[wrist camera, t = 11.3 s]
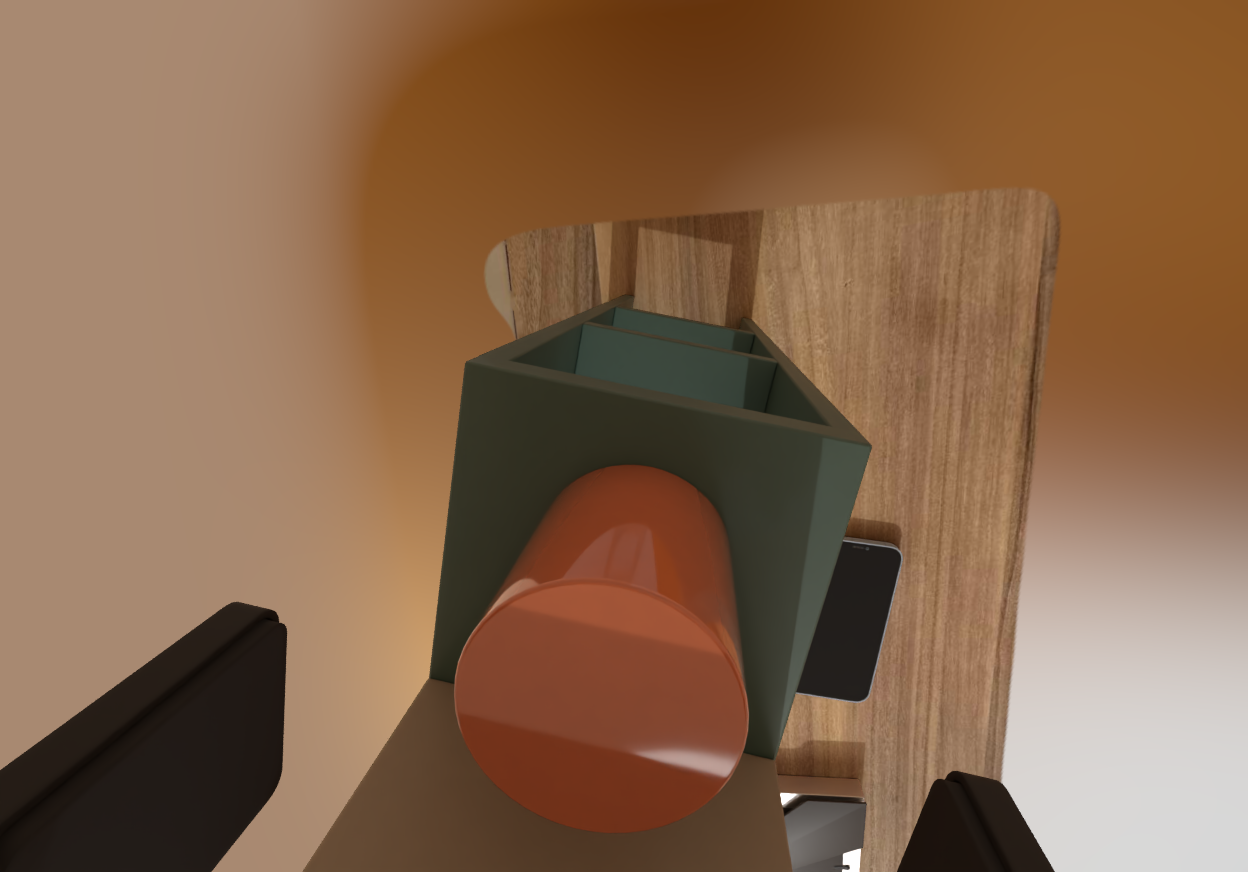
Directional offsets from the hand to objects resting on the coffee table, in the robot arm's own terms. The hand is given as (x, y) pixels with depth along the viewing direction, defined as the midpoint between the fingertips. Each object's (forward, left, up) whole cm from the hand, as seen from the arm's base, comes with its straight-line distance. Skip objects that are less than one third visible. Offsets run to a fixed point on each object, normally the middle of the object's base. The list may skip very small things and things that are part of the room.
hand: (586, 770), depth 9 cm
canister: (0, 0, -8) cm, 8 cm away
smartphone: (+19, +18, -43) cm, 50 cm away
